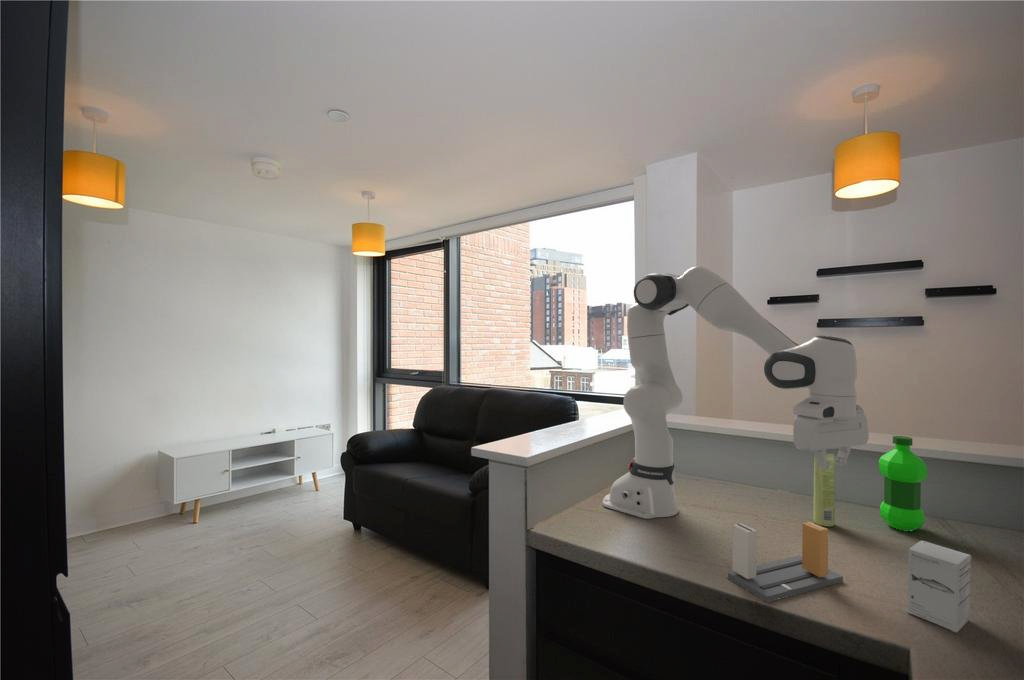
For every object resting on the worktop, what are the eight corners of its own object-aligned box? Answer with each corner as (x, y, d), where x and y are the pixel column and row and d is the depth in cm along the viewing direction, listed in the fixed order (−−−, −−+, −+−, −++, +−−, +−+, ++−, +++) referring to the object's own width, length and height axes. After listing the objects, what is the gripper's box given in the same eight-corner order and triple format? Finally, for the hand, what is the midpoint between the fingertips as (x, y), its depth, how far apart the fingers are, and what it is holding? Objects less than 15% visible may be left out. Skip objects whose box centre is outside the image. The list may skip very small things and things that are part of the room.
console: (767, 602, 91) (767, 595, 91) (727, 577, 101) (727, 571, 101) (842, 581, 99) (842, 575, 99) (799, 560, 108) (799, 554, 108)
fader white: (747, 579, 97) (748, 531, 97) (732, 570, 100) (732, 524, 100) (756, 577, 98) (756, 529, 97) (741, 568, 101) (741, 522, 101)
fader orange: (819, 577, 97) (820, 530, 97) (802, 568, 101) (802, 522, 101) (827, 575, 98) (828, 528, 98) (809, 566, 102) (810, 521, 102)
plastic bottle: (897, 535, 121) (898, 441, 121) (868, 519, 132) (869, 433, 132) (937, 536, 121) (938, 442, 121) (905, 520, 131) (906, 433, 131)
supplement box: (905, 613, 88) (906, 547, 88) (920, 601, 92) (920, 538, 92) (957, 634, 82) (958, 564, 81) (971, 620, 86) (971, 553, 85)
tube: (812, 518, 133) (813, 451, 133) (833, 521, 130) (834, 453, 130) (813, 525, 128) (814, 455, 128) (835, 528, 126) (836, 458, 125)
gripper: (848, 402, 111) (848, 458, 112) (787, 407, 104) (787, 467, 104) (877, 406, 105) (876, 465, 106) (814, 411, 98) (814, 475, 99)
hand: (831, 466), depth 105 cm, fingers open, 4 cm apart
